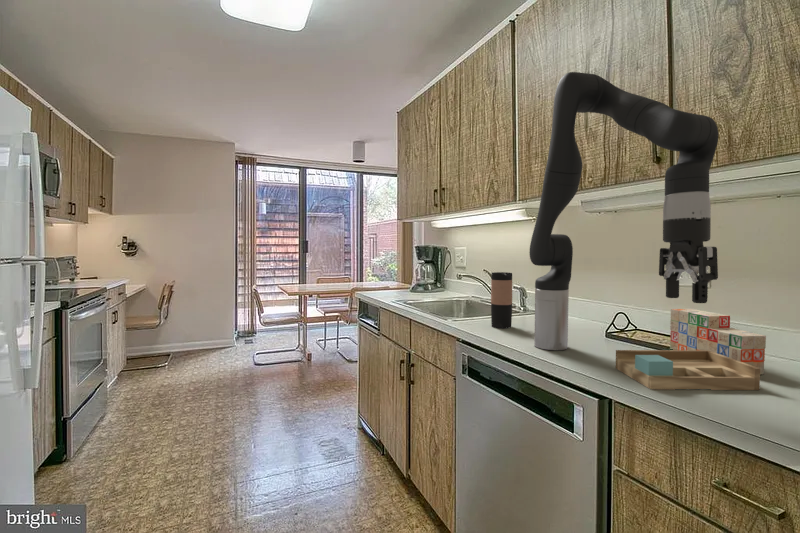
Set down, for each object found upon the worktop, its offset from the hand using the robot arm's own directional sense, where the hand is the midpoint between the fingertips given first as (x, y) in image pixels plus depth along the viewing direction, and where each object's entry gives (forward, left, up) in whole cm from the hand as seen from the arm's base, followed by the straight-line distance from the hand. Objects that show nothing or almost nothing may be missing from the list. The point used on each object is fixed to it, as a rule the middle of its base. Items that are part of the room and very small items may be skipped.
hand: (685, 300), depth 76 cm
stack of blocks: (-23, +23, -20) cm, 38 cm away
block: (-7, -1, -17) cm, 18 cm away
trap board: (-10, +7, -19) cm, 23 cm away
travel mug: (-67, -21, -19) cm, 72 cm away
